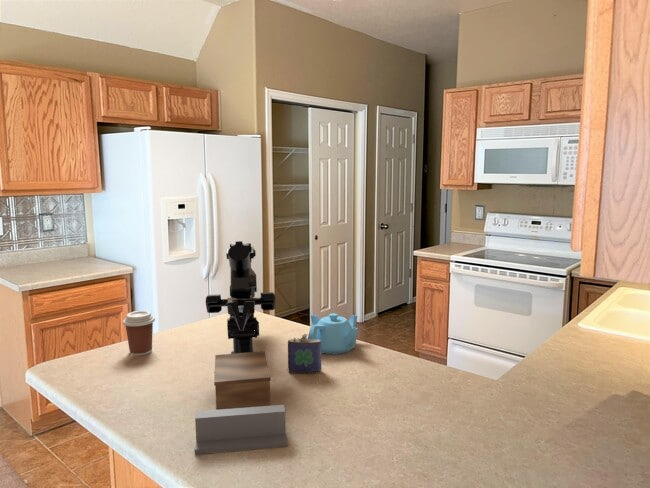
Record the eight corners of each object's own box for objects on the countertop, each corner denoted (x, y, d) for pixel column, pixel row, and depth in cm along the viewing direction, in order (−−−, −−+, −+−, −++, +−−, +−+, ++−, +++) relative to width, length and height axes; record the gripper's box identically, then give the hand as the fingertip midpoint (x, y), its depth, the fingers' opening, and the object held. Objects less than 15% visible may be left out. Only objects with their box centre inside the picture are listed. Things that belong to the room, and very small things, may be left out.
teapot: (311, 338, 164) (310, 306, 163) (357, 339, 164) (357, 307, 162) (307, 356, 149) (306, 321, 148) (357, 356, 149) (358, 321, 147)
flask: (321, 369, 139) (321, 332, 137) (321, 374, 136) (320, 336, 135) (288, 369, 140) (287, 332, 138) (287, 373, 137) (286, 336, 135)
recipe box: (216, 389, 128) (215, 354, 126) (265, 384, 130) (264, 351, 129) (215, 420, 112) (214, 382, 111) (271, 415, 114) (270, 377, 113)
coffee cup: (120, 351, 154) (117, 313, 152) (149, 344, 160) (147, 307, 158) (132, 359, 147) (129, 320, 145) (161, 352, 153) (159, 314, 151)
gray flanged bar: (197, 438, 104) (196, 411, 103) (284, 431, 107) (284, 404, 106) (194, 454, 99) (193, 426, 98) (286, 446, 101) (286, 418, 100)
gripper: (204, 266, 135) (202, 317, 126) (274, 263, 138) (277, 314, 129) (208, 287, 144) (206, 337, 135) (273, 285, 147) (276, 333, 138)
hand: (241, 330), depth 134 cm, fingers closed
